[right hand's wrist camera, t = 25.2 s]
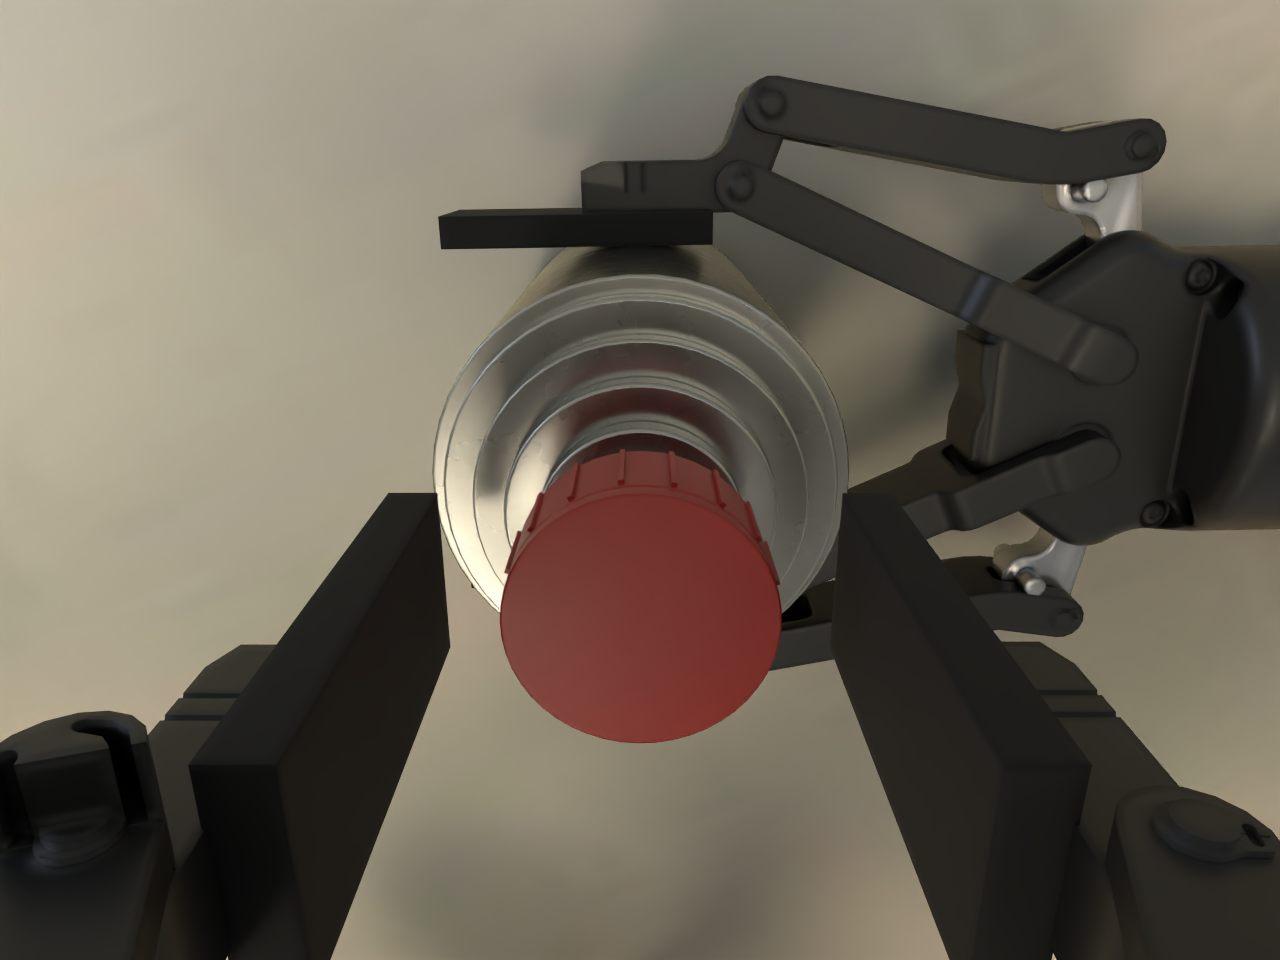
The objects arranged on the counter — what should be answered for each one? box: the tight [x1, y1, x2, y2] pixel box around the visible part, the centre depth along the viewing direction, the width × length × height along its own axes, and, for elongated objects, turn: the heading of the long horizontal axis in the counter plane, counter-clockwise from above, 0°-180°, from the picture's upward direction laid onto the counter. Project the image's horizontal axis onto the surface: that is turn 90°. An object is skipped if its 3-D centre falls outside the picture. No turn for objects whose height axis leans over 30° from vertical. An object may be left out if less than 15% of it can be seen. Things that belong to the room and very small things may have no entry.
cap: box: [500, 449, 782, 743], centre depth 14 cm, size 4×4×2 cm
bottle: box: [432, 245, 849, 613], centre depth 22 cm, size 8×8×18 cm
